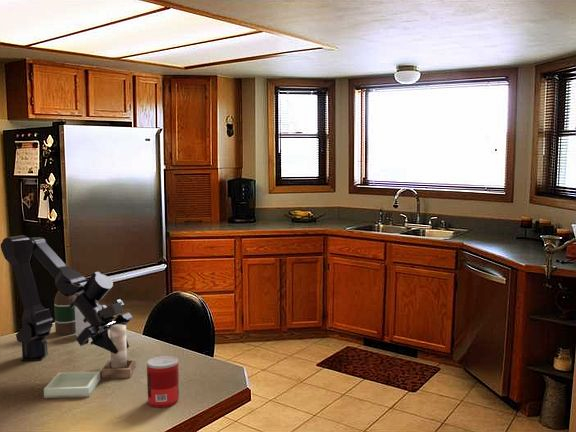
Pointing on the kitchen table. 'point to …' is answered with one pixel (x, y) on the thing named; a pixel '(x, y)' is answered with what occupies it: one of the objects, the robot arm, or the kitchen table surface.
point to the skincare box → (80, 322)
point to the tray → (72, 384)
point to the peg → (119, 346)
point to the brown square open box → (119, 370)
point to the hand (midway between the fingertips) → (122, 350)
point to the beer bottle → (64, 315)
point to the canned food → (162, 381)
